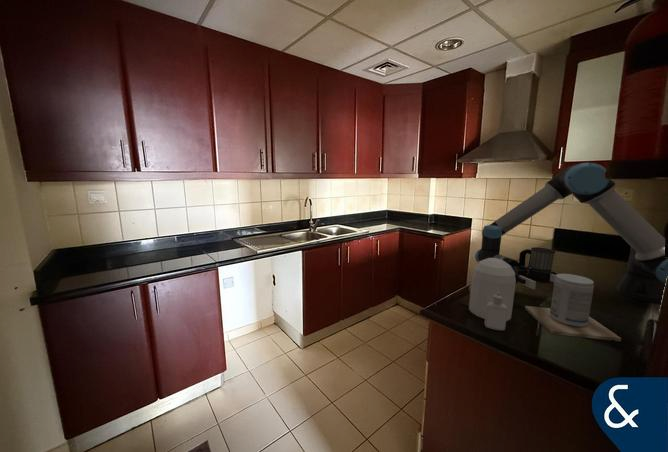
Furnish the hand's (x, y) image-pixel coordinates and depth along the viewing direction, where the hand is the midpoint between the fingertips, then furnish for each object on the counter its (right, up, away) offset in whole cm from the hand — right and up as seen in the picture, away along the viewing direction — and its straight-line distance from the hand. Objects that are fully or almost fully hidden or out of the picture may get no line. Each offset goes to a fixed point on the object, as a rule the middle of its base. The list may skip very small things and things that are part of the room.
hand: (551, 284), depth 94 cm
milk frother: (+18, -5, +34) cm, 39 cm away
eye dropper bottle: (-25, -12, -8) cm, 29 cm away
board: (+1, -12, -5) cm, 13 cm away
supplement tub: (+1, -11, -5) cm, 12 cm away
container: (-21, -10, +2) cm, 24 cm away
